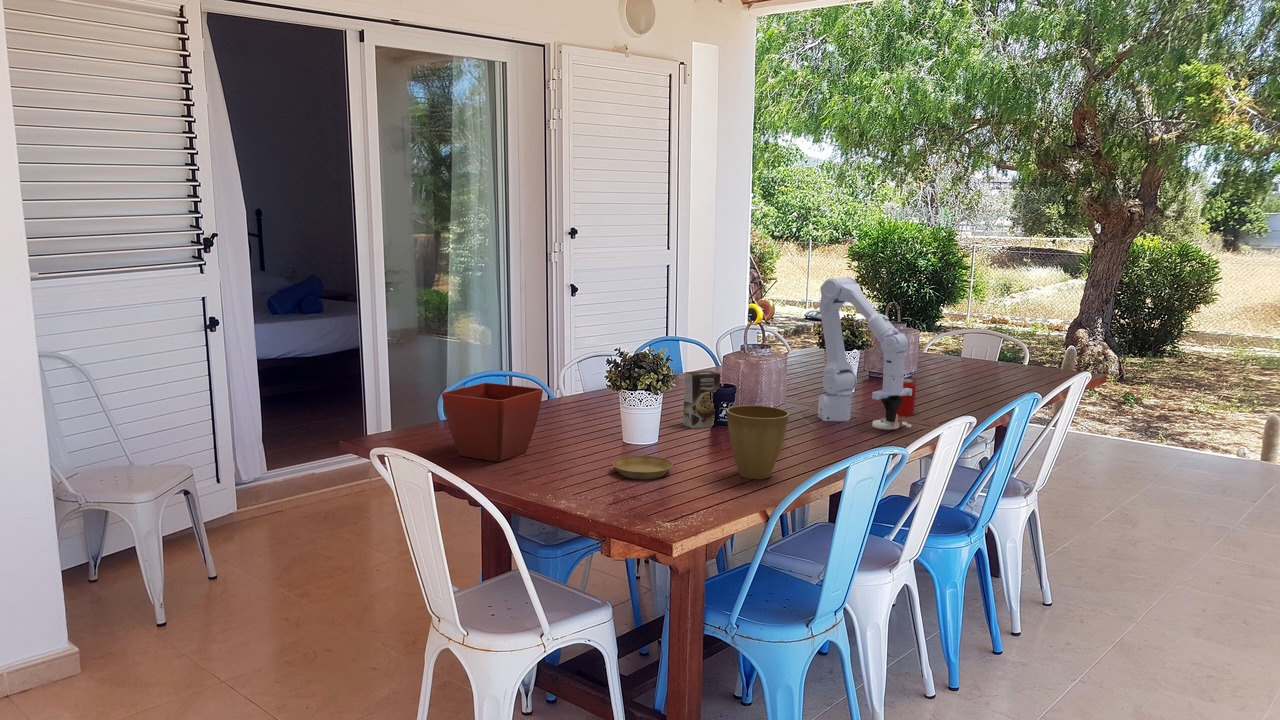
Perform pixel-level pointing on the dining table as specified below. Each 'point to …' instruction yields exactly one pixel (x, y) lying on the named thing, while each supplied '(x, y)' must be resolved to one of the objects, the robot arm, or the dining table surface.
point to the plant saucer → (642, 466)
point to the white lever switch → (886, 424)
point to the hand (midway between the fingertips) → (890, 421)
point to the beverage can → (907, 400)
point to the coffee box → (700, 398)
